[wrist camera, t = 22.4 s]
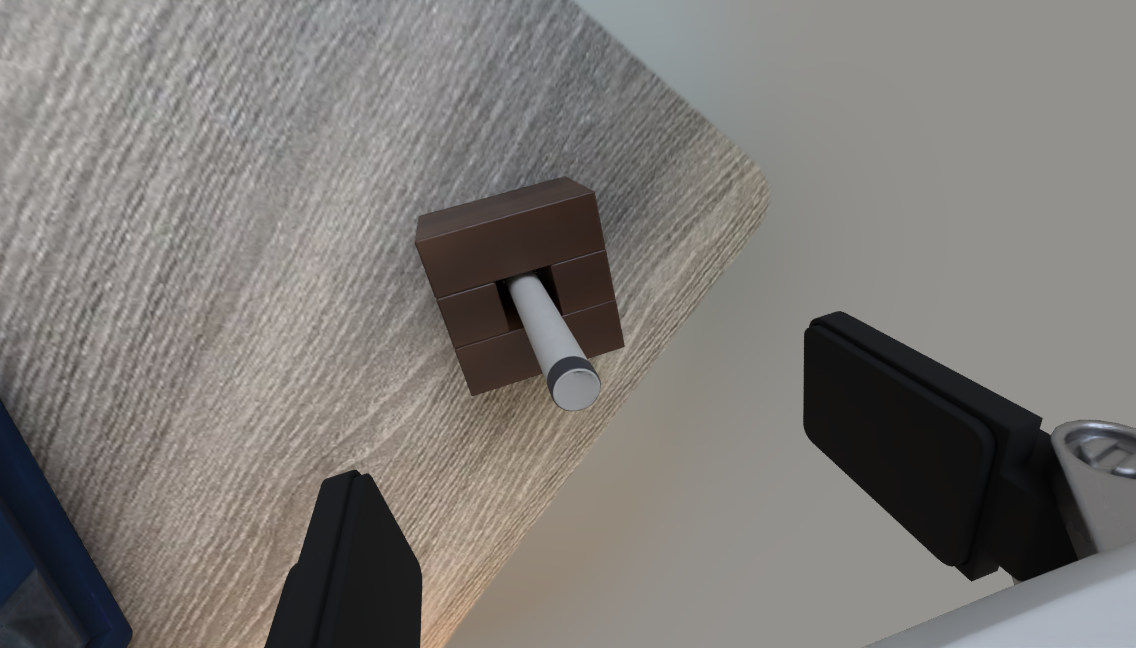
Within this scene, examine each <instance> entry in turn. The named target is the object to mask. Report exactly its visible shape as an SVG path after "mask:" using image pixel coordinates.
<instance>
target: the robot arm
mask: <svg viewBox="0 0 1136 648" xmlns="http://www.w3.org/2000/svg"><path fill="white" fill-rule="evenodd" d="M803 413H804V414H803V425H804V430H805V432H806V435H807V436H808V438H809V439H810V440H811V441H812V443H813V444H815V445H816V446H817V447H818V448H819V449H820V450H821V451H822V452H823V453H824V454H825V455H826V456H828V457H829V458H830V459H831V460H832V461H833V462H834V463H835V464H836V465H837V466H838V467H839V468H841V469H842V470H843V471H844V472H845V473H846V474H847V475H848V476H849V477H850V478H851V479H852V480H853V481H854V482H856V483H857V484H858V485H859V486H860V487H861V488H862V489H863V490H864V491H865V492H866V493H868V495H870V496H871V497H872V498H873V499H874V500H875V501H876V502H877V503H878V504H879V505H880V506H881V507H883V508H884V509H885V510H886V511H887V512H888V513H889V514H890V515H891V516H892V517H893V518H894V519H895V520H896V521H898V522H899V523H900V524H901V525H902V526H903V527H904V528H905V529H906V530H907V531H908V532H909V533H911V534H912V535H913V536H914V537H915V538H916V539H917V540H918V541H919V542H920V543H921V544H922V545H923V546H925V547H926V548H927V549H928V550H929V551H930V552H931V553H932V554H933V555H934V556H935V557H936V558H937V559H939V560H940V561H941V562H942V563H944V564H946V565H948V566H955V567H956V568H957V569H958V570H959V571H960V572H961V573H962V574H964V575H965V576H966V577H967V578H968V579H969V580H970V581H974V580H976V579H979V578H981V577H983V576H986V575H989V574H991V573H993V572H996V571H997V570H998V568H999V566H1000V567H1002V568H1003V569H1004V570H1005V571H1006V572H1008V573H1009V574H1010V575H1011V576H1012V579H1013V582H1014V586H1011V587H1009V588H1006V589H1004V590H1001V591H999V592H996V593H994V594H991V595H989V596H987V597H984V598H982V599H979V600H977V601H974V602H972V603H970V604H967V605H965V606H962V607H960V608H957V609H955V610H953V611H950V612H948V613H945V614H943V615H940V616H938V617H936V618H933V619H931V620H928V621H926V622H923V623H921V624H919V625H916V626H914V627H911V628H909V629H906V630H904V631H901V632H899V633H897V634H894V635H892V636H889V637H887V638H884V639H882V640H880V641H877V642H875V643H872V644H870V645H867V646H865V647H863V648H1136V428H1133V427H1129V426H1126V425H1122V424H1119V423H1112V422H1106V421H1100V420H1077V421H1071V422H1066V423H1064V424H1061V425H1059V426H1058V427H1056V428H1055V429H1054V431H1053V433H1052V434H1051V435H1049V434H1048V433H1046V432H1044V431H1042V430H1040V426H1041V422H1042V418H1041V417H1039V416H1038V415H1036V414H1034V413H1032V412H1030V411H1028V410H1026V409H1024V408H1022V407H1021V406H1019V405H1017V404H1015V403H1013V402H1011V401H1009V400H1007V399H1006V398H1004V397H1002V396H1000V395H998V394H996V393H994V392H992V391H991V390H989V389H987V388H985V387H983V386H981V385H979V384H978V383H976V382H974V381H972V380H970V379H968V378H966V377H964V376H963V375H961V374H959V373H957V372H955V371H953V370H951V369H949V368H948V367H946V366H944V365H942V364H940V363H938V362H936V361H934V360H933V359H931V358H929V357H927V356H925V355H923V354H921V353H919V352H917V351H916V350H914V349H912V348H910V347H908V346H906V345H905V344H903V343H901V342H899V341H897V340H895V339H893V338H891V337H890V336H888V335H886V334H884V333H882V332H880V331H878V330H876V329H875V328H873V327H871V326H869V325H867V324H865V323H863V322H861V321H860V320H858V319H856V318H854V317H852V316H850V315H848V314H846V313H844V312H841V311H838V312H834V313H831V314H828V315H824V316H821V317H818V318H815V319H814V320H812V321H811V323H810V325H809V328H807V329H806V330H805V333H804V412H803ZM421 606H422V573H421V568H420V565H419V562H418V560H417V558H416V557H415V555H414V553H413V551H412V549H411V547H410V546H409V544H408V542H407V540H406V538H405V536H404V535H403V533H402V531H401V529H400V527H399V525H398V524H397V522H396V520H395V518H394V516H393V515H392V513H391V511H390V509H389V507H388V505H387V504H386V502H385V500H384V498H383V496H382V494H381V493H380V491H379V489H378V487H377V485H376V483H375V482H374V480H373V478H372V477H371V475H370V474H364V475H361V474H360V472H358V471H357V470H351V471H348V472H345V473H342V474H339V475H336V476H333V477H330V478H327V479H325V480H324V481H323V482H322V484H321V487H320V491H319V494H318V497H317V501H316V504H315V507H314V511H313V514H312V517H311V520H310V524H309V527H308V530H307V534H306V537H305V540H304V544H303V547H302V550H301V554H300V557H299V560H298V563H297V564H295V565H294V566H293V567H292V568H291V569H290V571H289V573H288V576H287V578H286V581H285V584H284V587H283V590H282V594H281V597H280V600H279V603H278V606H277V609H276V613H275V616H274V619H273V622H272V625H271V628H270V632H269V635H268V638H267V641H266V644H265V647H264V648H420V635H421Z"/></svg>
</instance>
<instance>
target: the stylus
mask: <svg viewBox="0 0 1136 648" xmlns="http://www.w3.org/2000/svg"><path fill="white" fill-rule="evenodd" d="M505 281H506V283H507V286H508V288H509V291H510V293H511V296H512V298H513V301H514V303H515V306H516V308H517V311H518V313H519V315H520V318H521V320H522V323H523V325H524V328H525V330H526V333H527V335H528V338H529V340H530V343H531V345H532V348H533V350H534V352H535V355H536V357H537V360H538V362H539V365H540V367H541V370H542V372H543V375H544V377H545V380H546V382H547V386H548V389H549V391H550V394H551V396H552V399H553V401H554V402H555V404H556V405H557V406H559V407H560V408H562V409H564V410H567V411H579V410H582V409H585V408H587V407H588V406H590V405H591V404H592V403H593V402H594V401H595V400H596V399H597V397H598V395H599V392H600V388H601V383H600V378H599V376H598V375H597V373H596V371H595V370H594V368H593V366H592V365H591V363H590V362H589V361H588V359H587V358H586V356H585V355H584V353H583V351H582V350H581V348H580V346H579V345H578V343H577V341H576V340H575V338H574V336H573V335H572V333H571V331H570V330H569V328H568V326H567V325H566V323H565V322H564V320H563V318H562V317H561V315H560V313H559V312H558V310H557V308H556V307H555V305H554V303H553V302H552V300H551V298H550V297H549V295H548V294H547V292H546V290H545V289H544V287H543V285H542V284H541V282H540V280H539V279H538V277H537V275H536V274H535V272H534V270H532V271H528V272H525V273H521V274H518V275H515V276H511V277H508V278H505Z"/></svg>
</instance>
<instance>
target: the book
mask: <svg viewBox="0 0 1136 648" xmlns="http://www.w3.org/2000/svg"><path fill="white" fill-rule="evenodd" d="M131 637H132V630H131V628H130V626H129V624H128V623H127V621H126V619H125V617H124V616H123V614H122V612H121V610H120V609H119V607H118V605H117V603H116V602H115V600H114V598H113V596H112V595H111V593H110V591H109V589H108V588H107V586H106V584H105V582H104V581H103V579H102V577H101V575H100V574H99V572H98V570H97V568H96V567H95V565H94V563H93V561H92V560H91V558H90V556H89V554H88V553H87V551H86V549H85V547H84V546H83V544H82V542H81V540H80V539H79V537H78V535H77V533H76V532H75V530H74V528H73V526H72V525H71V523H70V521H69V519H68V518H67V516H66V514H65V512H64V511H63V509H62V507H61V505H60V504H59V502H58V500H57V498H56V497H55V495H54V493H53V491H52V490H51V488H50V486H49V484H48V483H47V481H46V479H45V477H44V476H43V474H42V472H41V470H40V469H39V467H38V465H37V463H36V462H35V460H34V458H33V456H32V455H31V453H30V451H29V449H28V448H27V446H26V444H25V442H24V441H23V439H22V437H21V435H20V434H19V432H18V430H17V428H16V426H15V425H14V423H13V421H12V419H11V418H10V416H9V414H8V412H7V411H6V409H5V407H4V405H3V404H2V402H1V400H0V648H126V647H127V645H128V644H129V642H130V640H131Z"/></svg>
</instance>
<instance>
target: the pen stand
mask: <svg viewBox="0 0 1136 648" xmlns="http://www.w3.org/2000/svg"><path fill="white" fill-rule="evenodd" d="M415 245H416V247H417V250H418V253H419V256H420V258H421V261H422V264H423V266H424V269H425V272H426V274H427V277H428V280H429V282H430V285H431V288H432V290H433V293H434V296H435V298H436V301H437V304H438V306H439V309H440V312H441V314H442V317H443V320H444V322H445V325H446V328H447V330H448V333H449V336H450V339H451V341H452V344H453V347H454V348H455V352H456V355H457V358H458V360H459V363H460V366H461V368H462V371H463V374H464V376H465V379H466V382H467V384H468V387H469V390H470V392H471V395H472V396H475V395H478V394H481V393H484V392H487V391H490V390H493V389H496V388H499V387H502V386H505V385H509V384H512V383H515V382H518V381H521V380H524V379H527V378H530V377H533V376H536V375H539V374H542V373H543V372H542V370H541V367H540V365H539V362H538V360H537V357H536V355H535V352H534V350H533V348H532V345H531V343H530V340H529V338H528V335H527V333H526V330H525V328H524V325H523V323H522V320H521V318H520V315H519V313H518V311H517V308H516V306H515V303H514V301H513V298H512V296H511V293H510V291H506V292H503V293H500V294H499V293H498V290H497V287H496V284H495V281H498V280H501V279H505V278H508V277H511V276H515V275H518V274H521V273H525V272H528V271H532V270H535V269H538V270H539V273H540V277H541V280H542V281H540V282H541V284H542V285H543V287H544V289H545V290H546V292H547V294H548V295H549V297H550V298H551V300H552V302H553V303H554V305H555V307H556V308H557V310H558V312H559V313H560V315H561V317H562V318H563V320H564V322H565V323H566V325H567V326H568V328H569V330H570V331H571V333H572V335H573V336H574V338H575V340H576V341H577V343H578V345H579V346H580V348H581V350H582V351H583V353H584V355H585V356H586V358H587V359H589V358H592V357H595V356H598V355H601V354H604V353H607V352H610V351H613V350H616V349H619V348H623V347H625V345H624V340H623V335H622V329H621V324H620V319H619V314H618V309H617V304H616V300H615V294H614V289H613V284H612V278H611V273H610V268H609V263H608V258H607V253H606V249H605V242H604V237H603V232H602V227H601V222H600V217H599V211H598V206H597V201H596V196H595V192H594V191H593V190H591V189H589V188H587V187H585V186H583V185H581V184H579V183H577V182H575V181H573V180H571V179H570V178H568V177H565V176H564V177H561V178H557V179H553V180H550V181H546V182H542V183H539V184H535V185H531V186H528V187H524V188H520V189H517V190H513V191H509V192H506V193H502V194H498V195H495V196H491V197H487V198H484V199H480V200H476V201H473V202H469V203H466V204H462V205H458V206H455V207H451V208H447V209H444V210H440V211H436V212H433V213H429V214H425V215H422V216H419V218H418V225H417V231H416V237H415Z"/></svg>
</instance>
